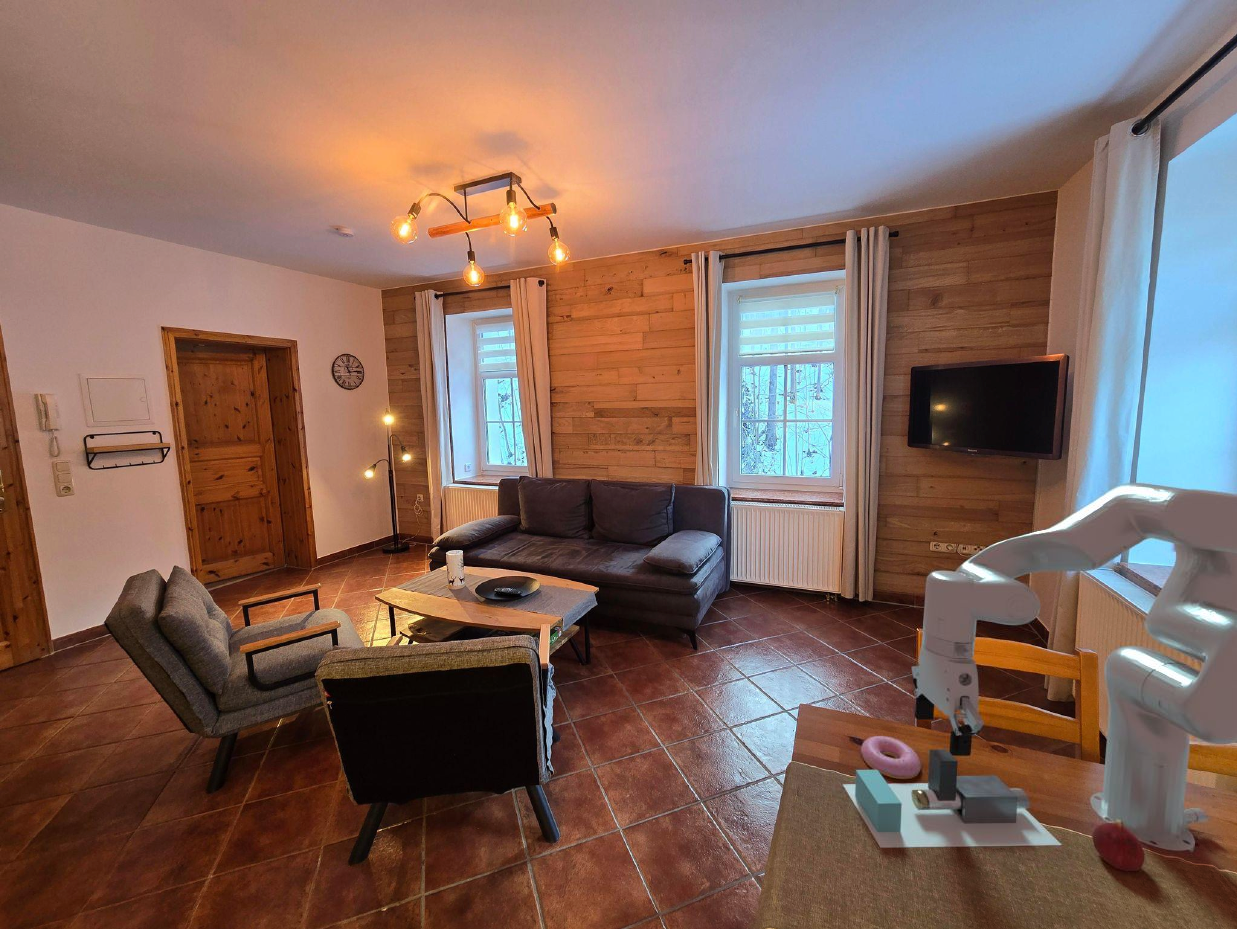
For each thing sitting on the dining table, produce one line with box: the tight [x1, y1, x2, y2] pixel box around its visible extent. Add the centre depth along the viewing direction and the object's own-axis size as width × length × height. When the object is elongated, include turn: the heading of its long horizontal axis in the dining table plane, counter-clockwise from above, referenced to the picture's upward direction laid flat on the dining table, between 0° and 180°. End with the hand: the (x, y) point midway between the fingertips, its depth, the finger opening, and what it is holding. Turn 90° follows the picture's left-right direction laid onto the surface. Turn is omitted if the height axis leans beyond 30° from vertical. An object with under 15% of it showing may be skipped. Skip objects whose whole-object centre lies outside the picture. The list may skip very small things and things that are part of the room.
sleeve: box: [953, 775, 1018, 824], centre depth 88 cm, size 9×5×5 cm, turn 90°
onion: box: [1091, 819, 1146, 872], centre depth 78 cm, size 6×6×8 cm
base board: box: [842, 782, 1063, 849], centre depth 88 cm, size 30×14×1 cm, turn 90°
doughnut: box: [860, 735, 922, 780], centre depth 101 cm, size 11×11×4 cm
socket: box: [855, 769, 902, 832], centre depth 88 cm, size 4×8×5 cm, turn 0°
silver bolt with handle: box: [911, 748, 1030, 810], centre depth 87 cm, size 19×3×10 cm, turn 90°
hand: (940, 735), depth 87 cm, fingers open, 9 cm apart
